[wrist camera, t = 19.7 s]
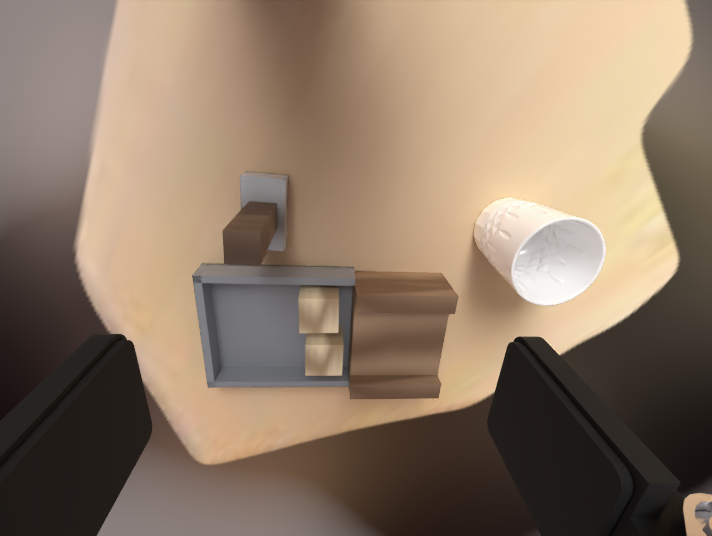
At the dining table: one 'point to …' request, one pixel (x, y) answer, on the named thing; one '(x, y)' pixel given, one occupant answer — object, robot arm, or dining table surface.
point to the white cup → (540, 249)
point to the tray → (263, 323)
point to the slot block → (398, 334)
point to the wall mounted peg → (258, 219)
